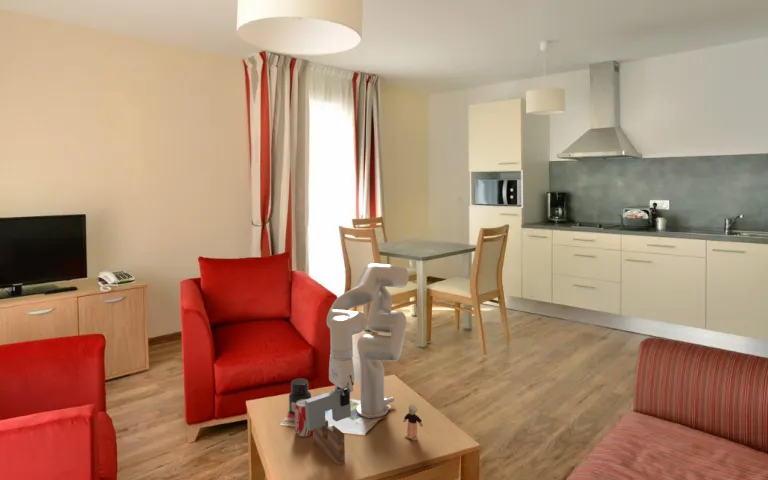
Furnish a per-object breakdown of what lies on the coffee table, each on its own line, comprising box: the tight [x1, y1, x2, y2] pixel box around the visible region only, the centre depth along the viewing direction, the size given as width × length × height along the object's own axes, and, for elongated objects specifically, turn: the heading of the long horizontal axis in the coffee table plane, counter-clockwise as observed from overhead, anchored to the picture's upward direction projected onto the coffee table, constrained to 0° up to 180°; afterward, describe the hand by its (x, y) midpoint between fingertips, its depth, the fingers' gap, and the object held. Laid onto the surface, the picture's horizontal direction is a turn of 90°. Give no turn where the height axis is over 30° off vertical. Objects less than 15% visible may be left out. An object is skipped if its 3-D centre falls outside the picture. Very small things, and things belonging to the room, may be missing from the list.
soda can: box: [294, 399, 313, 438], centre depth 189 cm, size 7×7×12 cm
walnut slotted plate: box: [312, 418, 346, 465], centre depth 177 cm, size 2×18×10 cm, turn 35°
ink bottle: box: [288, 377, 312, 415], centre depth 208 cm, size 10×9×12 cm
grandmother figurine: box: [403, 404, 423, 442], centre depth 185 cm, size 8×4×13 cm, turn 70°
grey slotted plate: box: [305, 388, 352, 431], centre depth 176 cm, size 16×2×10 cm, turn 125°
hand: (342, 403), depth 179 cm, fingers closed on grey slotted plate, 2 cm apart
